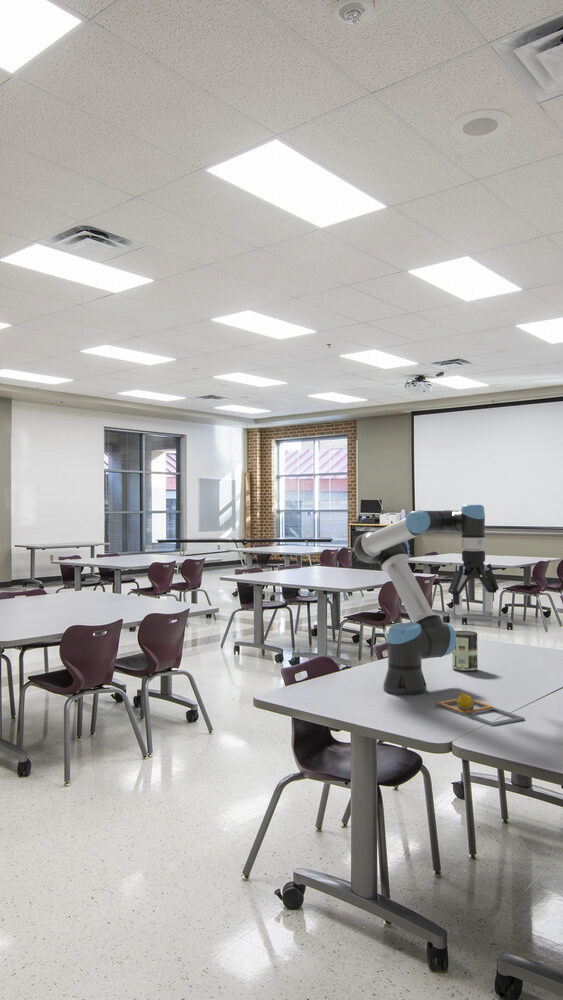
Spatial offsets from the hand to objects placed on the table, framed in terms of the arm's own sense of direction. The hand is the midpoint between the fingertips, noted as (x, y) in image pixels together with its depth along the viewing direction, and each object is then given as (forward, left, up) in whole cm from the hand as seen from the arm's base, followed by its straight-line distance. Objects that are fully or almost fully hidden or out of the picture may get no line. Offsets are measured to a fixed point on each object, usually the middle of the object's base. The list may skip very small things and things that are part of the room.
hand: (474, 613), depth 229 cm
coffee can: (-36, +28, -29) cm, 54 cm away
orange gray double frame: (+14, -11, -29) cm, 34 cm away
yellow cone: (+8, -11, -28) cm, 32 cm away
